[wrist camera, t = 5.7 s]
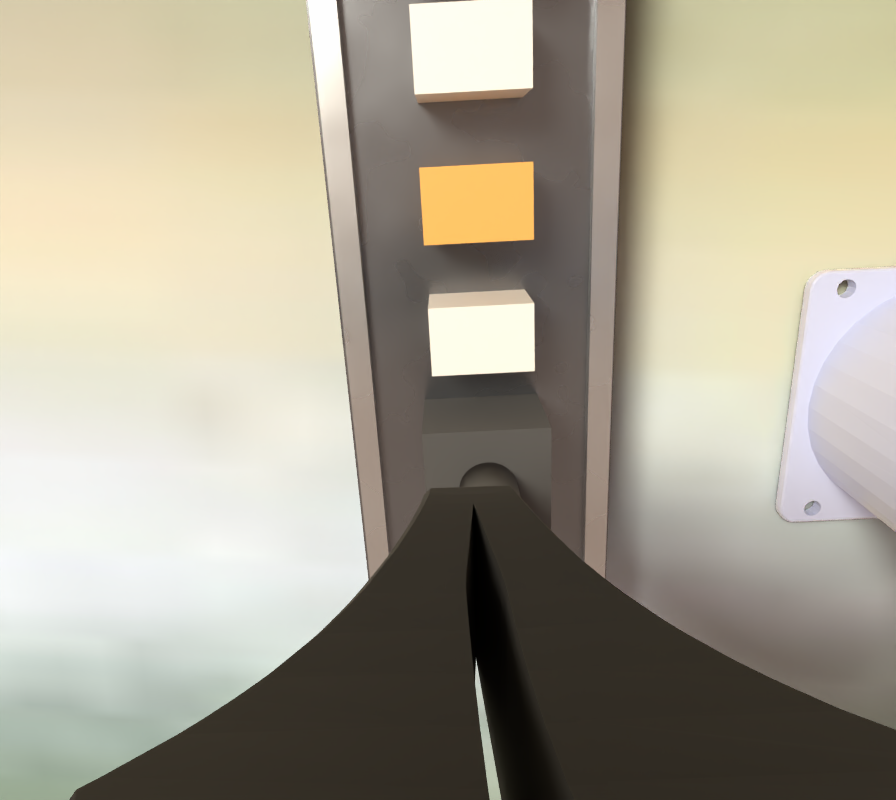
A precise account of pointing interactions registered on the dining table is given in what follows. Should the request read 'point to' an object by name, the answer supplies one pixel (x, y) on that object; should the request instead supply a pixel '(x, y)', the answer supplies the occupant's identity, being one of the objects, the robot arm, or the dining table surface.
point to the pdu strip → (473, 246)
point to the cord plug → (490, 446)
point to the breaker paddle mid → (477, 203)
